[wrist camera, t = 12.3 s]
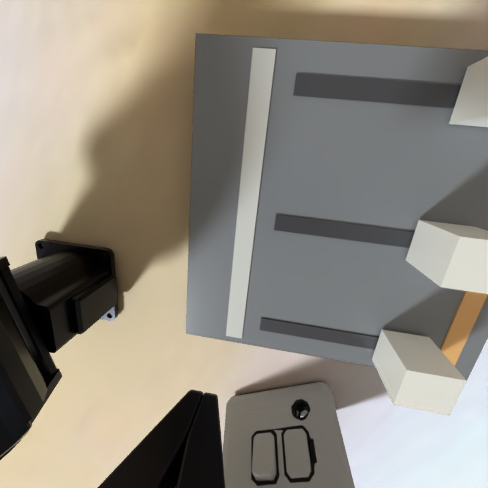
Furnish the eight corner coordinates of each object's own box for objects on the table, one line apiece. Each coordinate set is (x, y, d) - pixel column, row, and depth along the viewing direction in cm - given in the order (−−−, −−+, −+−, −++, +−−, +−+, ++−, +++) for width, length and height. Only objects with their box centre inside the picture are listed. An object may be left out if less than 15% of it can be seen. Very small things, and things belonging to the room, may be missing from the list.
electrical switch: (328, 376, 21) (366, 537, 13) (341, 416, 23) (382, 581, 14) (226, 393, 23) (200, 540, 15) (246, 428, 25) (232, 578, 17)
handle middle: (405, 260, 15) (440, 287, 12) (418, 219, 14) (460, 236, 11) (458, 267, 15) (509, 297, 12) (475, 226, 14) (534, 246, 11)
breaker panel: (194, 318, 21) (185, 334, 19) (206, 49, 15) (195, 32, 13) (447, 361, 19) (466, 384, 17) (576, 73, 13) (627, 58, 11)
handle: (372, 359, 18) (393, 404, 14) (381, 329, 17) (406, 370, 13) (417, 367, 17) (449, 415, 14) (429, 337, 16) (466, 380, 13)
